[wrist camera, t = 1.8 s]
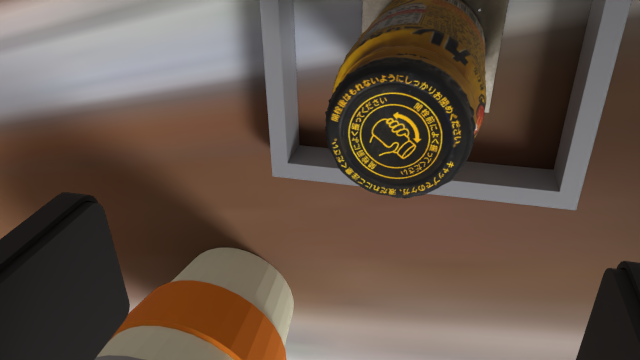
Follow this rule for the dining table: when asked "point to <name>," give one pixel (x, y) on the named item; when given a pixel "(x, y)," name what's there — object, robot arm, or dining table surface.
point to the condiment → (414, 92)
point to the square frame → (474, 177)
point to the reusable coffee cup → (210, 313)
